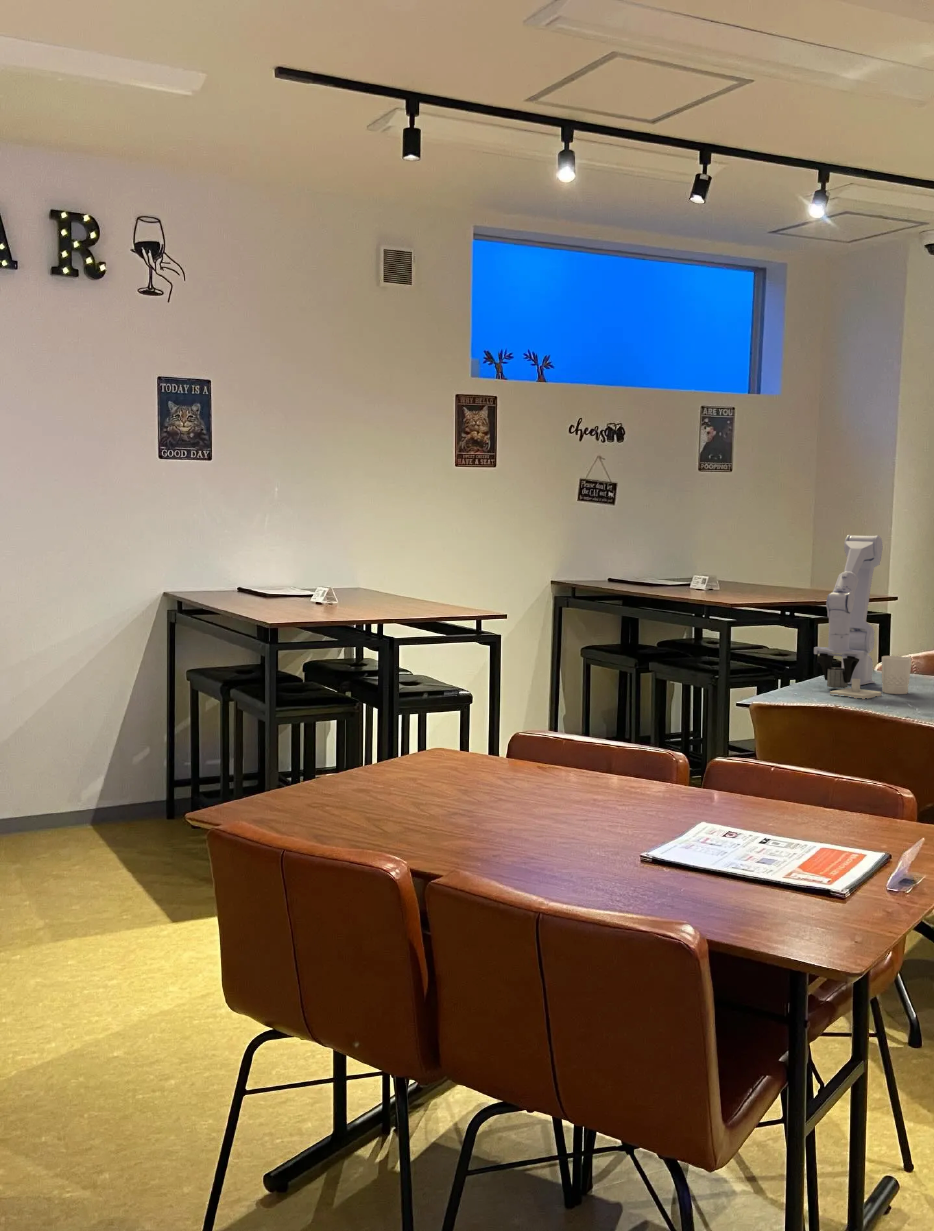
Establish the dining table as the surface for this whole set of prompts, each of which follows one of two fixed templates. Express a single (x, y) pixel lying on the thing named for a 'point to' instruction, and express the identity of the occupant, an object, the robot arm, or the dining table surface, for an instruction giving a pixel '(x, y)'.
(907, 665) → the white cup
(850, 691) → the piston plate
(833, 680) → the ring
